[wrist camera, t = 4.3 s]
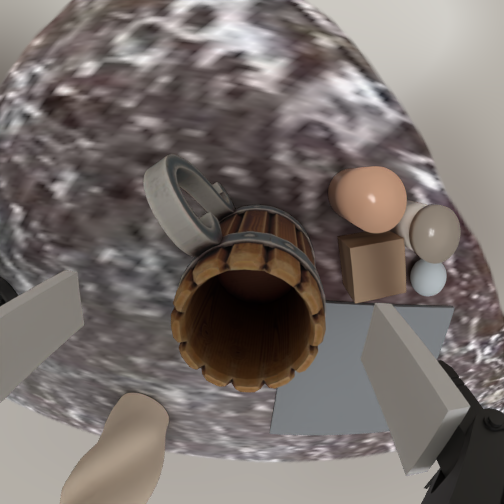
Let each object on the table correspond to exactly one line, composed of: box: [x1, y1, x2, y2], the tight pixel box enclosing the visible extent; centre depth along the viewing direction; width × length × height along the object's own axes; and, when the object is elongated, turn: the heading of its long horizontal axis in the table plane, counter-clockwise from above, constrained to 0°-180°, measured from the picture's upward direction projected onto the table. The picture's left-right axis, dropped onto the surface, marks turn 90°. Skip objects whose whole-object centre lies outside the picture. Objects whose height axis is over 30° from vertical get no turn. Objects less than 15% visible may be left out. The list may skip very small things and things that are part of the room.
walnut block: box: [337, 231, 406, 303], centre depth 27 cm, size 5×5×5 cm
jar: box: [389, 200, 460, 264], centre depth 24 cm, size 5×5×7 cm
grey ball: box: [410, 259, 446, 296], centre depth 27 cm, size 4×4×4 cm
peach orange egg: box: [328, 166, 407, 233], centre depth 24 cm, size 5×5×7 cm
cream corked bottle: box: [60, 393, 169, 504], centre depth 22 cm, size 10×9×28 cm
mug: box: [143, 154, 326, 392], centre depth 22 cm, size 16×11×15 cm
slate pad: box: [270, 301, 454, 435], centre depth 32 cm, size 20×20×1 cm
